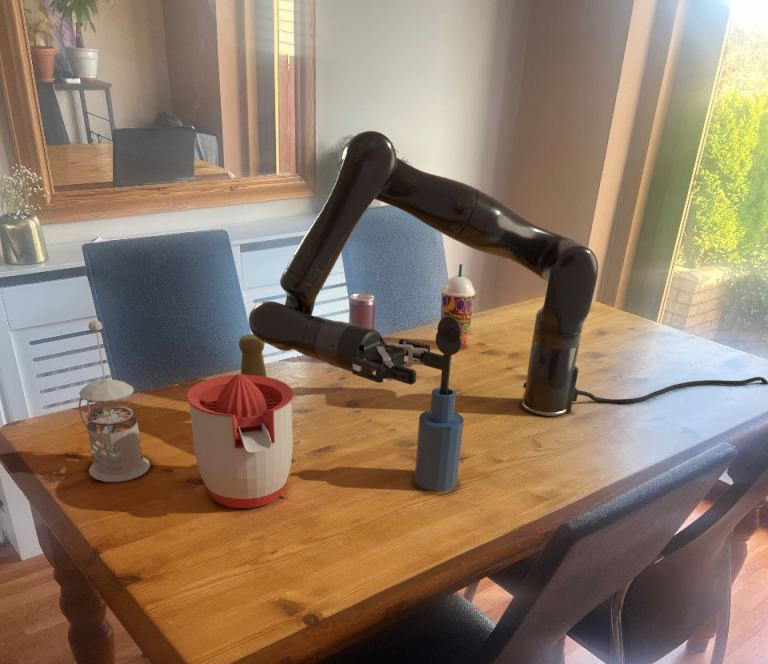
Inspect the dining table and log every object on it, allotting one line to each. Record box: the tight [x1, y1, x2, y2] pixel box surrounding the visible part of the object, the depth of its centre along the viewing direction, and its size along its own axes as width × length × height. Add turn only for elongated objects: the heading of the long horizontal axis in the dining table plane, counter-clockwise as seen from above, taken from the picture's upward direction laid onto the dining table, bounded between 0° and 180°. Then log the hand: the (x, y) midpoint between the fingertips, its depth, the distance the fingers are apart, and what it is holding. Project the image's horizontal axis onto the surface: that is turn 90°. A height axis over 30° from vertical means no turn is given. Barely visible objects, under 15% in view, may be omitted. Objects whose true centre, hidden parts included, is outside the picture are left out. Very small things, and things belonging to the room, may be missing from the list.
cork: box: [238, 333, 268, 377], centre depth 151 cm, size 6×6×11 cm
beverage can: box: [348, 293, 377, 330], centre depth 166 cm, size 6×6×15 cm
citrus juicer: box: [186, 373, 294, 509], centre depth 110 cm, size 16×17×20 cm
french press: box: [78, 319, 151, 483], centre depth 115 cm, size 10×12×25 cm
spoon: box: [435, 316, 462, 395], centre depth 113 cm, size 1×4×28 cm, turn 53°
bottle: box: [414, 387, 465, 493], centre depth 116 cm, size 7×7×16 cm
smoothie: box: [440, 263, 477, 349], centre depth 177 cm, size 8×8×20 cm
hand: (430, 370), depth 112 cm, fingers open, 8 cm apart
